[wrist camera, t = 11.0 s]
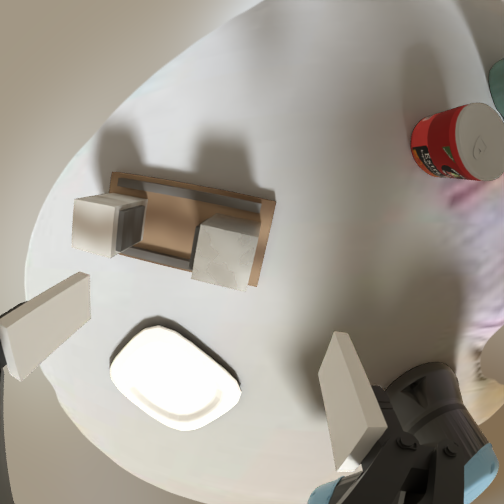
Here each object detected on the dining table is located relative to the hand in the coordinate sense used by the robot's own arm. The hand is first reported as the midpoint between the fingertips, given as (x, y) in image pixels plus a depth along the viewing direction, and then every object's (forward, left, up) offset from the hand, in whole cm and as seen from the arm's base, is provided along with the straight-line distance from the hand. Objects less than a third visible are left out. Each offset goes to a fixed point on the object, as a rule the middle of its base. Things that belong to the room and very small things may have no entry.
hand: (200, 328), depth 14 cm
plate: (-24, +6, -21) cm, 33 cm away
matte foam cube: (0, +1, -20) cm, 20 cm away
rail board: (0, +7, -21) cm, 22 cm away
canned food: (+17, -21, -21) cm, 34 cm away
